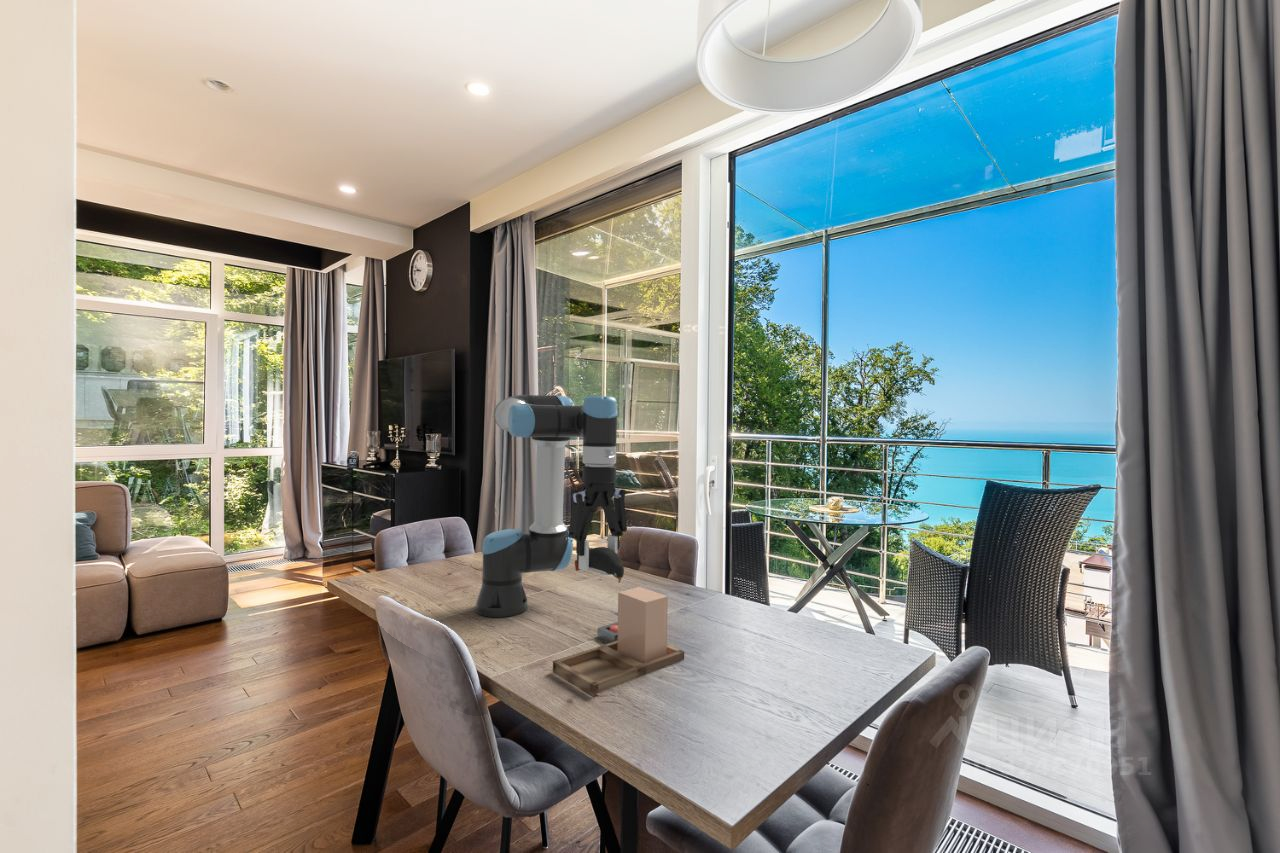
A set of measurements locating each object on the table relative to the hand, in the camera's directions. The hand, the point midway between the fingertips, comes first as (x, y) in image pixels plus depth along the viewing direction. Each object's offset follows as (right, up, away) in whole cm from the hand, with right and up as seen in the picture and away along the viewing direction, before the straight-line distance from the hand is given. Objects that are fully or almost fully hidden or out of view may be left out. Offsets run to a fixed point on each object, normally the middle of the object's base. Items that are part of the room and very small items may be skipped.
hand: (598, 566), depth 130 cm
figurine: (0, -2, 0) cm, 2 cm away
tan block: (+10, -24, +9) cm, 28 cm away
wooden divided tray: (+5, -25, +5) cm, 26 cm away
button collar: (+3, -24, +21) cm, 32 cm away
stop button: (+3, -24, +21) cm, 32 cm away
